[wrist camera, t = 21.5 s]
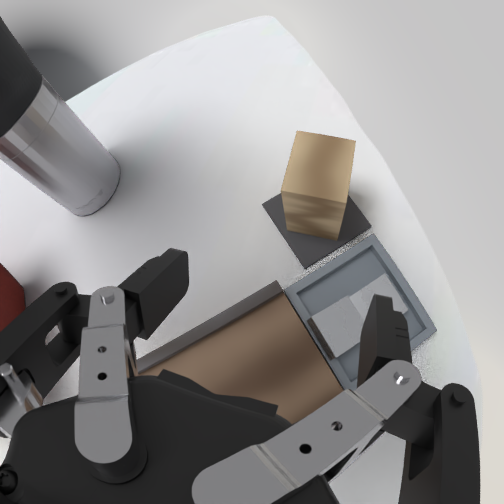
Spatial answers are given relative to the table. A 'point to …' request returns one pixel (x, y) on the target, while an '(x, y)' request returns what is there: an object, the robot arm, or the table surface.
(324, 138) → the tall wooden block
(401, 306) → the chip
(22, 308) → the plant pot
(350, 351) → the tray
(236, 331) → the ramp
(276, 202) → the mat
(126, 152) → the table surface
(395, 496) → the table surface
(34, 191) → the table surface
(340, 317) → the chip
